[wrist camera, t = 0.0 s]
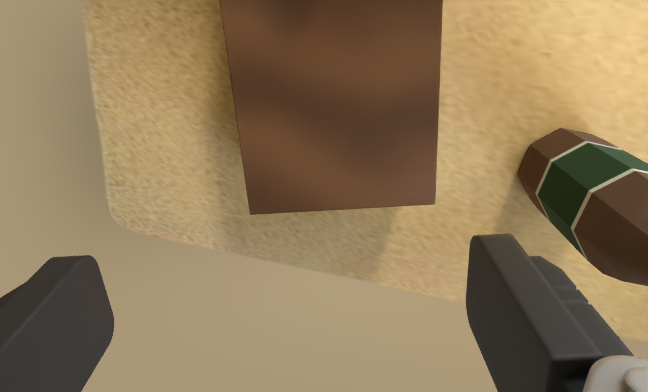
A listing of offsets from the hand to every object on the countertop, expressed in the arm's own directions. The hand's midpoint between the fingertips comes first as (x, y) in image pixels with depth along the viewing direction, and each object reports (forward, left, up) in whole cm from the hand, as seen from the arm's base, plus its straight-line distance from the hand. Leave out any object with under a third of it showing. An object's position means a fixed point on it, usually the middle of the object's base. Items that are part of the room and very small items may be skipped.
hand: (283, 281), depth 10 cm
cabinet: (+2, +2, -32) cm, 32 cm away
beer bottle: (+11, +22, -32) cm, 40 cm away
